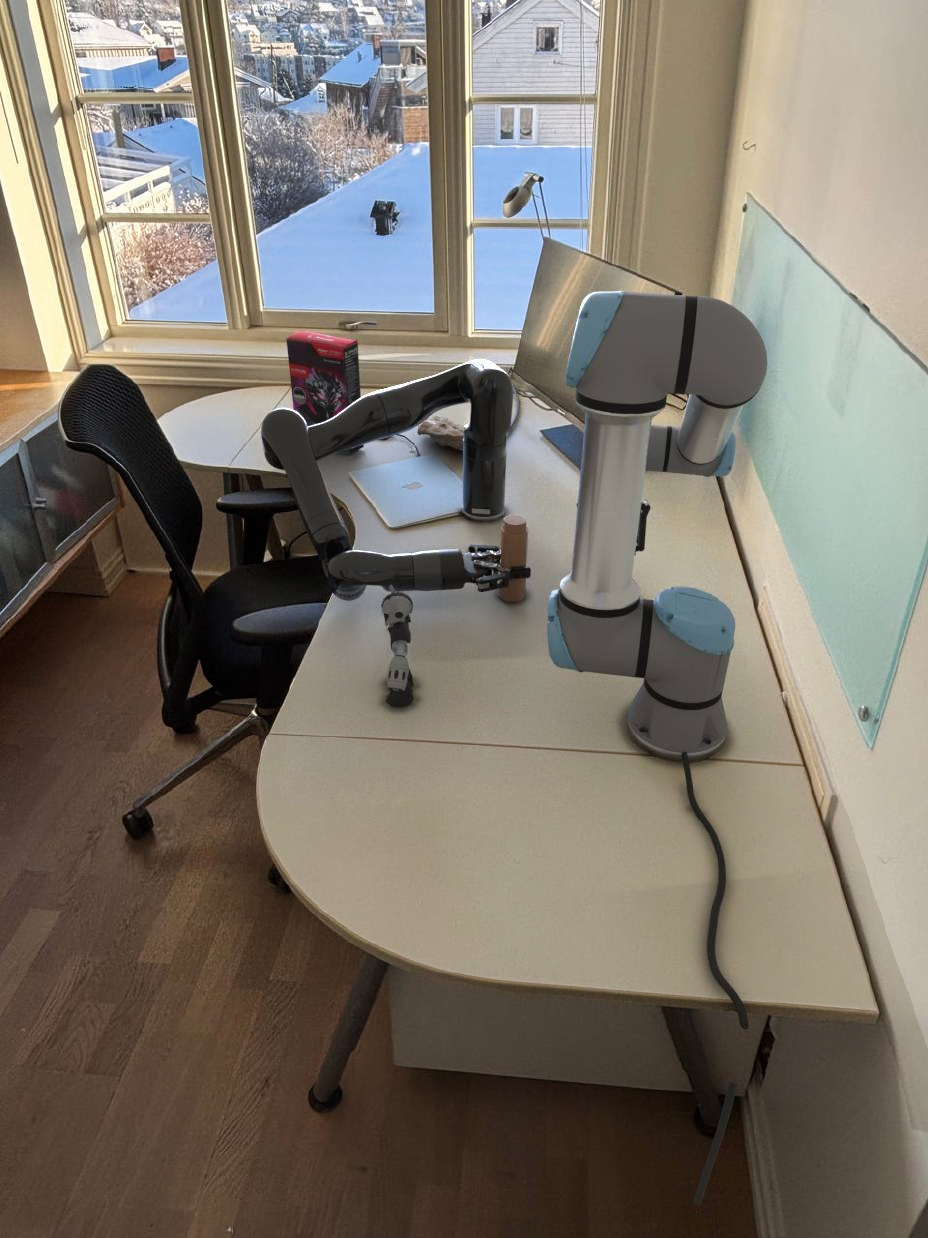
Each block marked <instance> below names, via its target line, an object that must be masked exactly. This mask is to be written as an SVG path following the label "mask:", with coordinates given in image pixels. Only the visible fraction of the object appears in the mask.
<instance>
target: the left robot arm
mask: <svg viewBox="0 0 928 1238" xmlns="http://www.w3.org/2000/svg"><path fill="white" fill-rule="evenodd" d="M511 371H513V370H512V366H510V367H508V369H507V372H506V371H505V370H504V369H502V368H501V367H499V365H497V364H496V363H495V362H493V361H492V360H491V361H490V360H489V359H484V358H477V359H473V360H469V361H467V362H465V363H462V364H459V365H457V366H455V367H452V368H450V369H446V370H445V371H442V372H440V373H437V374H434V375H432V376H428V377H424V378H420V379H416V380H413V381H410V382H406V383H402V384H398V385H394V386H390V387H387V388H383V389H379V390H376V391H372V392H370V393H367V394H364V395H362V396H361V398H359V399H358V400H356V401H355V402H353V403H352V404H350V405H349V406H348V407H346V408H345V409H344V410H343V411H341V412H340V413H339V414H337V415H336V416H334V417H333V418H331V419H329V420H327V421H325V422H322V423H319V424H315V425H312V426H308V425H307V423H306V421H305V419H304V418H303V417H302V416H301V415H300V414H299V413H298V412H296V411H294V410H293V409H292V408H288V407H279V408H275V409H273V410H271V411H270V412H268V413H267V414H266V415H265V416H264V418H263V420H262V422H261V426H260V439H261V444H262V450H263V454H264V458H265V460H266V462H267V463H268V464H269V465H270V466H271V467H273V468H274V469H277V470H280V471H284V472H285V474H286V477H287V479H288V482H289V484H290V488H291V490H292V494H293V497H294V500H295V504H296V507H297V509H298V512H299V515H300V518H301V521H302V523H303V526H304V528H305V531H306V534H307V535H308V537H309V540H310V542H311V544H312V546H313V549H315V552H316V554H317V556H318V559H319V563H320V566H321V569H322V572H323V574H324V577H325V580H326V583H327V585H328V587H329V589H330V591H331V593H332V594H333V595H334V596H335V597H336V598H338V599H339V600H342V601H346V602H352V601H355V600H358V599H360V597H361V596H363V594H364V593H365V591H366V588H367V586H375V587H376V586H377V587H381V588H382V589H383V590H384V591H385V592H388V593H391V591H390V588H389V586H388V582H389V581H390V582H391V584H392V586H393V588H394V590H395V592H402V593H404V592H413V591H414V592H416V591H417V592H437V591H451V590H462V589H463V588H464V586H465V584H474V585H476V586H477V591H478V593H485V592H492V591H496V590H499V589H501V588H506V587H508V586H509V582H510V580H512V579H522V578H523V579H525V578H526V579H530V578H531V575H532V569H531V567H530V566H529V565H527V566H520V567H511V569H510V568H508V567H500V551H501V546H499V545H493V544H491V545H490V544H472V543H471V544H468V545H467V552H466V553H463V551H462V549H461V548H446V549H445V548H443V549H430V550H429V549H427V550H419V551H415V552H402V553H392V554H391V553H390V554H387V553H381V552H375V551H369V550H368V551H367V550H362V549H361V550H359V549H353V547H352V543H351V538H350V533H349V530H348V528H347V525H346V523H345V521H344V518H343V517H342V514H341V513H340V510H339V508H338V506H337V504H336V502H335V500H334V497H333V496H332V494H331V492H330V489H329V487H328V485H327V482H326V480H325V478H324V476H323V474H322V472H321V469H320V466H319V464H318V461H320V460H323V459H325V458H328V457H330V456H332V455H334V454H337V453H339V452H340V451H343V450H346V449H350V448H353V447H356V446H360V445H363V444H364V445H366V444H369V443H372V442H375V441H380V440H383V439H387V438H390V437H395V436H397V435H400V434H403V433H406V432H409V431H412V430H413V429H415V428H416V427H418V425H419V424H421V423H422V422H423V421H424V420H426V419H427V418H430V417H432V416H433V414H435V413H437V412H438V411H440V410H443V409H446V408H449V407H453V406H456V405H461V404H462V405H463V404H467V403H468V404H470V413H469V414H470V416H469V421H468V422H467V423H466V424H464V426H463V427H464V429H463V451H462V506H463V510H462V509H461V513H462V515H463V516H464V517H465V518H467V519H469V520H471V521H476V522H492V521H496V520H499V519H501V518H502V517H503V516H504V515H505V513H506V510H505V509H506V506H505V503H506V501H505V500H506V499H505V498H506V479H507V477H506V476H507V445H508V444H507V443H508V434H509V433H510V432H511V430H512V429H513V427H514V425H515V424H516V422H517V420H518V417H519V414H520V399H519V395H518V393H517V390H516V387H515V386H514V384H513V380H512V378H511V376H510V373H511ZM514 397H515V401H516V411H515V415H514V418H513V417H512V416H513V407H514V406H513V404H514ZM512 419H513V420H512ZM500 572H503V573H501V574H500ZM499 581H502V583H499Z"/></svg>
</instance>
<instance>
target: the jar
mask: <svg viewBox="0 0 928 1238" xmlns="http://www.w3.org/2000/svg"><path fill="white" fill-rule="evenodd" d="M527 525H528V520H527V517H525V516H524V515H521V514H508V515H505V517H504V518H503V525H502V526H501V528H500V530H501V531H500V550H501V551H500V565H499V566H500V567H508V568H510V569H511V567H520V566H528V565H527V564H528V563H527V562H528V548H529V547H528V546H529V527H528V526H527ZM501 573H503V572H499V574H501ZM526 582H527V578H525V579H523V578H522V579H512V580H510V582H509V586H508V587H506V588H501V589H498V596H499V598H500V599H501V600H503V601H505V602H508V603H516V602H517V603H518V602H520V601H522V600H524V599H525V597H526V585H527V583H526ZM498 583H502V581H498Z"/></svg>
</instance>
